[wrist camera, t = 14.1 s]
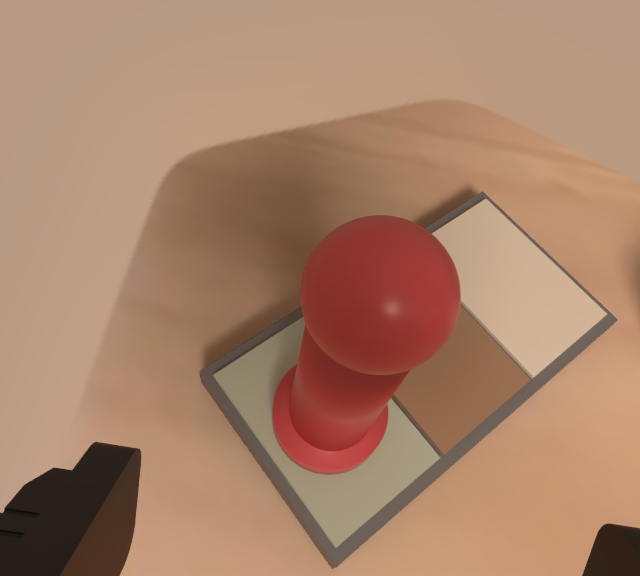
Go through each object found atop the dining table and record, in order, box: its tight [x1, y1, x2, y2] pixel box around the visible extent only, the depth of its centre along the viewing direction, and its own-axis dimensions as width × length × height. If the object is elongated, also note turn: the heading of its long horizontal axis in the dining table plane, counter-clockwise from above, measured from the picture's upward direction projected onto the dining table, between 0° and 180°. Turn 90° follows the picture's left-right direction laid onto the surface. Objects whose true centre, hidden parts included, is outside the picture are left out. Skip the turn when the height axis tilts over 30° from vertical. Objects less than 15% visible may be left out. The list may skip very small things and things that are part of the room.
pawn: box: [272, 216, 461, 475], centre depth 17 cm, size 4×4×12 cm
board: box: [199, 191, 617, 569], centre depth 25 cm, size 17×9×1 cm, turn 128°
